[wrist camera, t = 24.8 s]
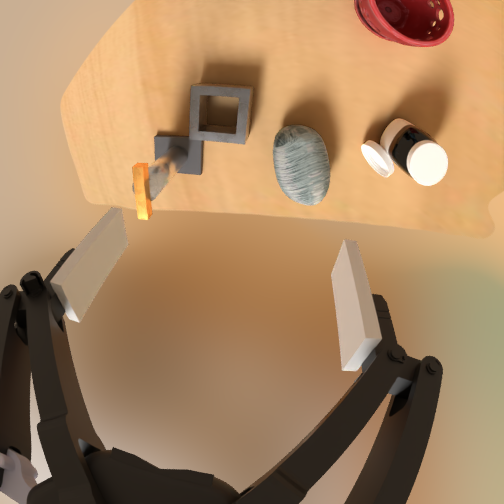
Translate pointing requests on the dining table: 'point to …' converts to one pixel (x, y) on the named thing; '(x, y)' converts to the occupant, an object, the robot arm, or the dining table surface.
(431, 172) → the spread jar
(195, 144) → the rest mat
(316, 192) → the spool
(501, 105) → the dining table surface
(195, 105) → the block
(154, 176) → the chuck key
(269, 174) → the dining table surface
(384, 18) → the plant pot
